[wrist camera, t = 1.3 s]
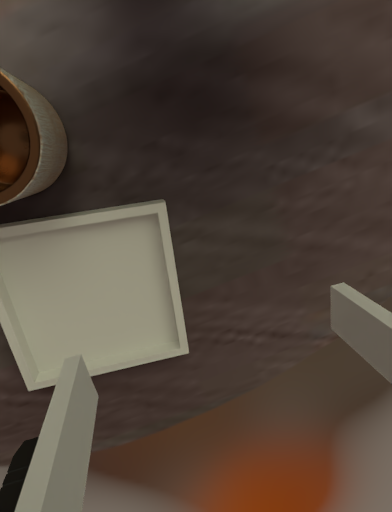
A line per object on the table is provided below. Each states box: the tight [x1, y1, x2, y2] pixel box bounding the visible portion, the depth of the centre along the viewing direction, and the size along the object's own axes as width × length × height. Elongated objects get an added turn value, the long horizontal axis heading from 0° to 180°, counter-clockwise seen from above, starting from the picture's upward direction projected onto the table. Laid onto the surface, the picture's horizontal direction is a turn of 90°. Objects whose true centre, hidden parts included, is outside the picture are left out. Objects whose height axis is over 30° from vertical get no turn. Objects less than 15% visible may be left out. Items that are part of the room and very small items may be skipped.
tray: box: [0, 199, 189, 391], centre depth 35 cm, size 20×20×2 cm
